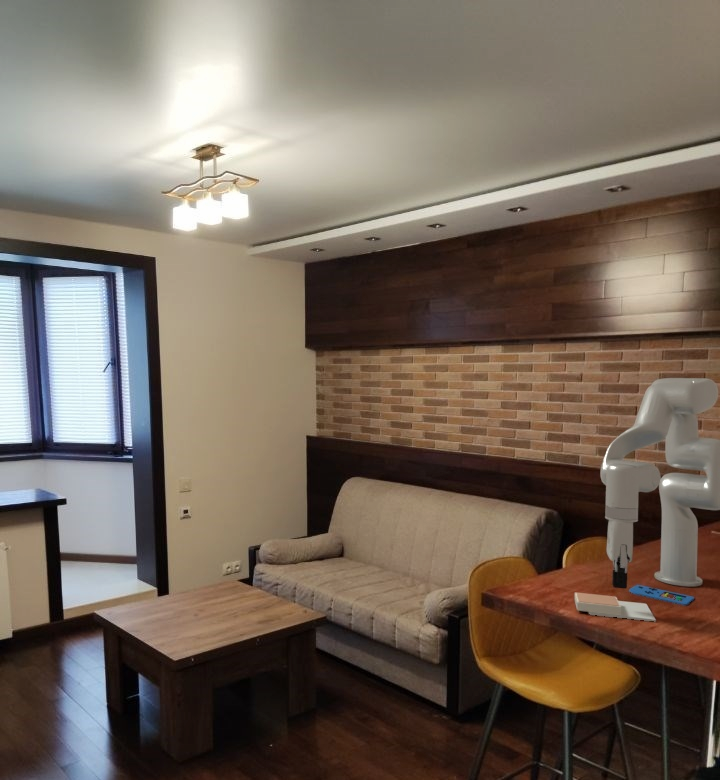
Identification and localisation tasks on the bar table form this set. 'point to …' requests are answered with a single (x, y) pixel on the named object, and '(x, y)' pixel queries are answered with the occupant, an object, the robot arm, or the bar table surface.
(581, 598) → the ceramic tile
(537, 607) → the bar table surface
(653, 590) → the handheld gaming device
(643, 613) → the rubber mat
